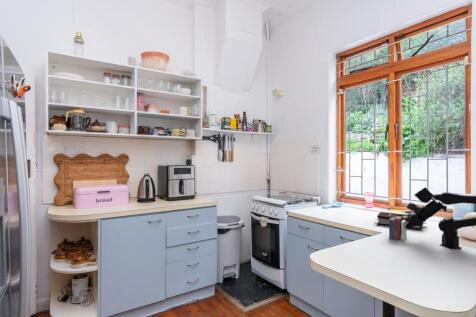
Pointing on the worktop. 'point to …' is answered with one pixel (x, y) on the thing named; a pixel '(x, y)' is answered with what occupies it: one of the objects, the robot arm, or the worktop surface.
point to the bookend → (403, 230)
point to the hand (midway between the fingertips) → (405, 227)
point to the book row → (395, 228)
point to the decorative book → (386, 216)
